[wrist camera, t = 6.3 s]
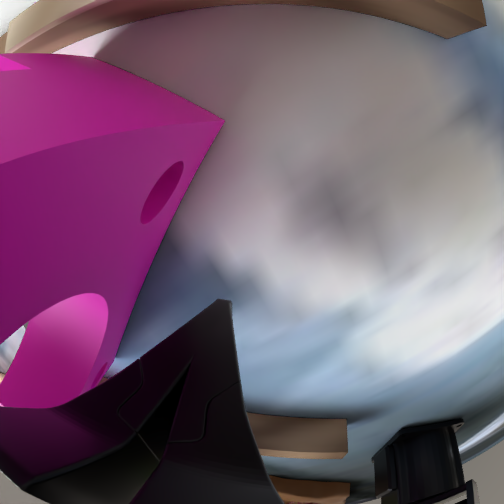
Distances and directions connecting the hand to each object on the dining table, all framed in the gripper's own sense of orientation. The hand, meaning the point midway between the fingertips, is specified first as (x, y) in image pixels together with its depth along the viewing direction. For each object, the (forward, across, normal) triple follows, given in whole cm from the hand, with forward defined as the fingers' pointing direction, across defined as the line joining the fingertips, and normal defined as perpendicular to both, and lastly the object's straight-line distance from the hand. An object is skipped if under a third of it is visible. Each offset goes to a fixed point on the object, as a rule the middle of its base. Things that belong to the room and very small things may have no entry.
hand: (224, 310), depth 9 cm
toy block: (+2, +7, 0) cm, 7 cm away
